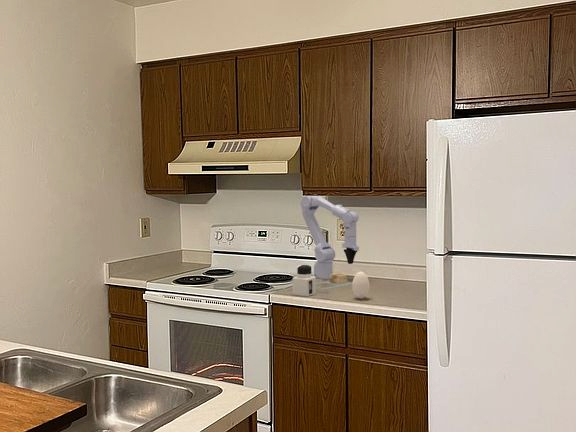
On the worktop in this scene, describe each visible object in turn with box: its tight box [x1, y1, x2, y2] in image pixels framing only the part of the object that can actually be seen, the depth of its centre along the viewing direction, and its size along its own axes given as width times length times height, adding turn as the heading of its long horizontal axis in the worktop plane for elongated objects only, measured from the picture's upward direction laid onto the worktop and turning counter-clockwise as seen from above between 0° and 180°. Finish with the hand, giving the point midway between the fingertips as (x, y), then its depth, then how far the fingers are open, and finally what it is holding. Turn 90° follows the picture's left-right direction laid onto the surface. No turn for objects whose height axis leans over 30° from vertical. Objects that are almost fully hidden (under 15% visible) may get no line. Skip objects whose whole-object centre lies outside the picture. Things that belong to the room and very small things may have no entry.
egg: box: [351, 271, 371, 300], centre depth 260 cm, size 7×7×12 cm
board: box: [316, 280, 353, 290], centre depth 290 cm, size 14×21×1 cm, turn 131°
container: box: [292, 264, 317, 297], centre depth 271 cm, size 8×8×13 cm
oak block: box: [329, 272, 348, 284], centre depth 293 cm, size 6×6×4 cm
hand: (350, 263), depth 298 cm, fingers closed
